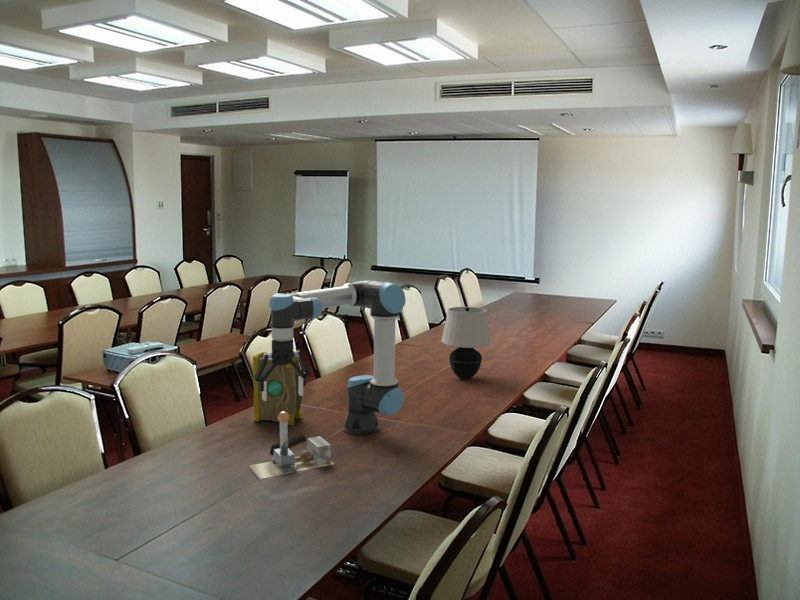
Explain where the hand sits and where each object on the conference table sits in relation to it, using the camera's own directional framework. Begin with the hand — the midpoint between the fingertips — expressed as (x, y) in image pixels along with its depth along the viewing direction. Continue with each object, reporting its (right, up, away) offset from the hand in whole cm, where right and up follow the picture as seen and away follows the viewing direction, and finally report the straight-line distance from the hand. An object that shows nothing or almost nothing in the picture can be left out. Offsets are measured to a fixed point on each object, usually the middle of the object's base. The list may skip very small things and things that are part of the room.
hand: (282, 397), depth 237 cm
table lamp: (+77, -9, +131) cm, 152 cm away
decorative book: (-12, -19, +59) cm, 63 cm away
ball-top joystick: (0, -25, +4) cm, 25 cm away
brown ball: (+7, -25, +8) cm, 27 cm away
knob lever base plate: (+2, -27, +6) cm, 27 cm away
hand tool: (-2, -24, +24) cm, 34 cm away
